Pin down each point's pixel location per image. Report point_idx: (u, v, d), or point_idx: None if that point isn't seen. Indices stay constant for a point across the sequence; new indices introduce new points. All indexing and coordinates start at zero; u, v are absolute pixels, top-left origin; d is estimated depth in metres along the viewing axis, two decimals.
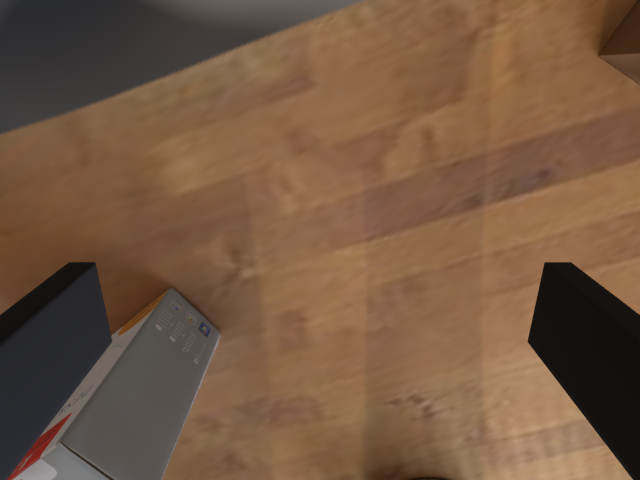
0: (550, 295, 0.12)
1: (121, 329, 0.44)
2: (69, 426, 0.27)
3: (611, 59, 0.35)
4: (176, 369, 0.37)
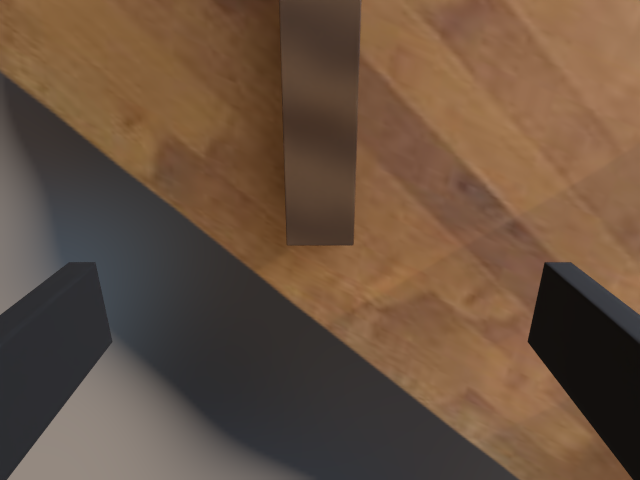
0: (550, 295, 0.12)
1: None
2: None
3: None
4: None
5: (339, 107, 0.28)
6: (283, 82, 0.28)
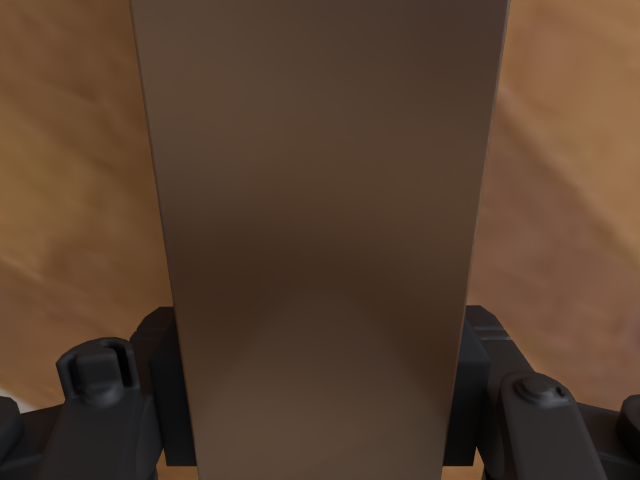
0: None
1: None
2: None
3: None
4: None
5: (401, 224, 0.07)
6: (154, 124, 0.06)
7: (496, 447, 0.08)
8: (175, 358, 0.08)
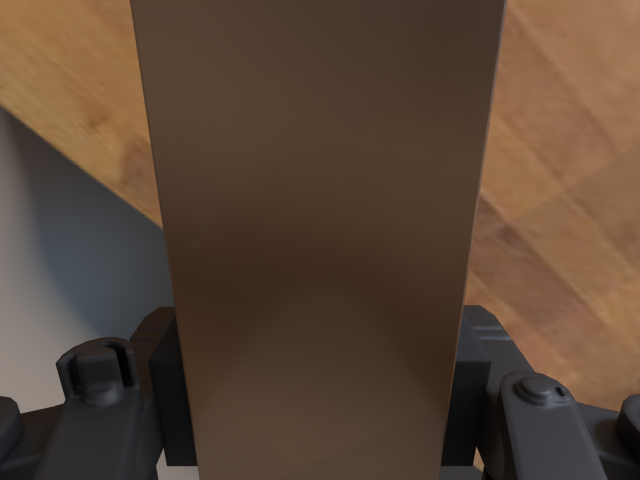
0: None
1: None
2: None
3: None
4: None
5: (399, 224, 0.07)
6: (154, 125, 0.06)
7: (496, 447, 0.08)
8: (175, 358, 0.08)
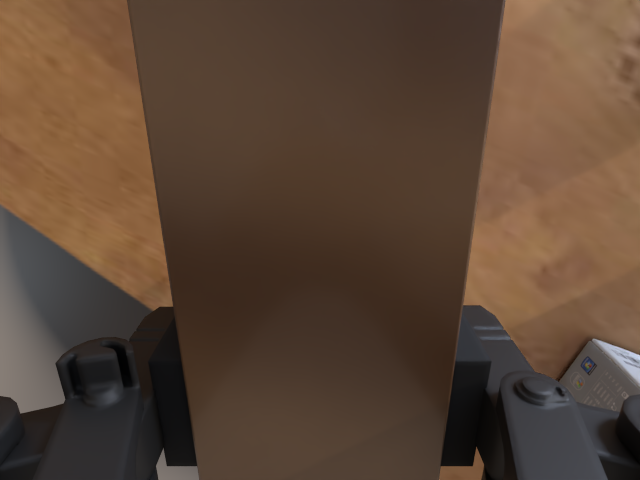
0: None
1: None
2: None
3: None
4: None
5: (397, 225, 0.07)
6: (152, 126, 0.06)
7: (496, 447, 0.08)
8: (175, 358, 0.08)
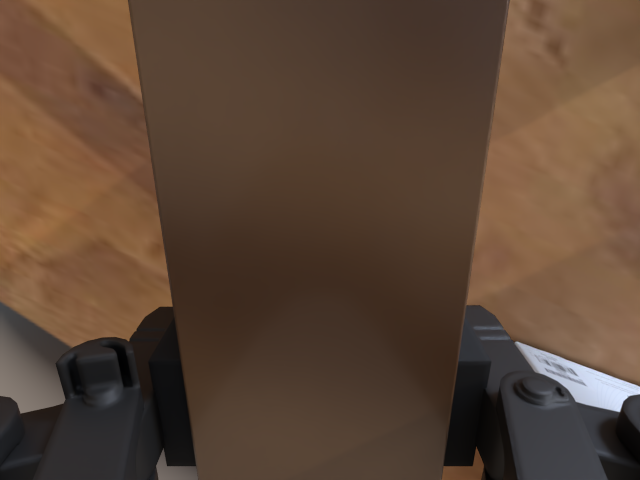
0: None
1: None
2: None
3: None
4: None
5: (400, 224, 0.07)
6: (152, 124, 0.06)
7: (496, 447, 0.08)
8: (175, 358, 0.08)
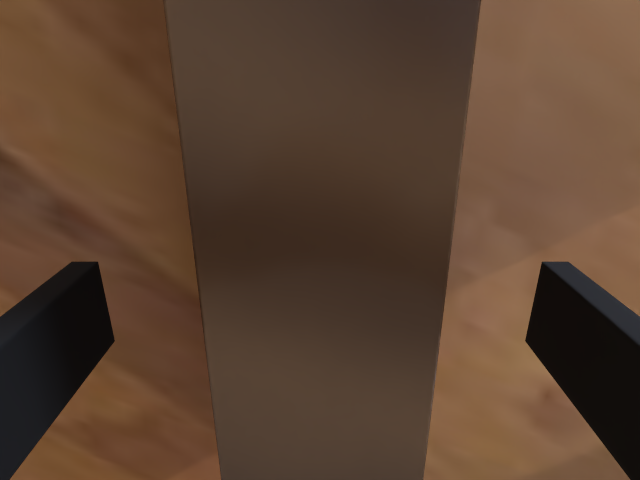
0: (547, 294, 0.12)
1: None
2: None
3: None
4: None
5: (392, 182, 0.08)
6: (180, 94, 0.07)
7: None
8: None
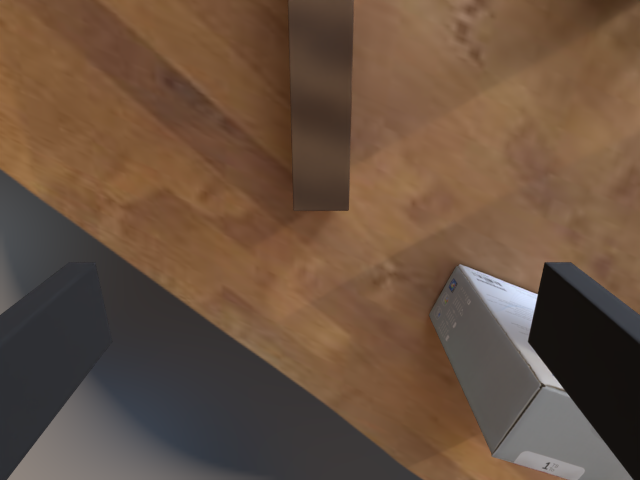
0: (550, 295, 0.12)
1: None
2: None
3: None
4: (470, 326, 0.41)
5: (336, 95, 0.35)
6: (291, 75, 0.34)
7: None
8: None
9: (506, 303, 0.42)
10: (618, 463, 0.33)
